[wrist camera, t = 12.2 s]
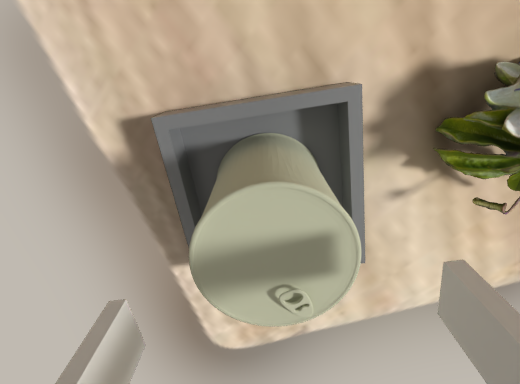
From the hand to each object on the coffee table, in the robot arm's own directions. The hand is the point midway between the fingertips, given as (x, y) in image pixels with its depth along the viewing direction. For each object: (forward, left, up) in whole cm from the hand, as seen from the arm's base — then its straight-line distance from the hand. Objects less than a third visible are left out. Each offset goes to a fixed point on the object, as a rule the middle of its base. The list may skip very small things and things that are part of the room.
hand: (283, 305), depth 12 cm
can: (0, 0, -15) cm, 15 cm away
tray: (0, 0, -15) cm, 15 cm away
